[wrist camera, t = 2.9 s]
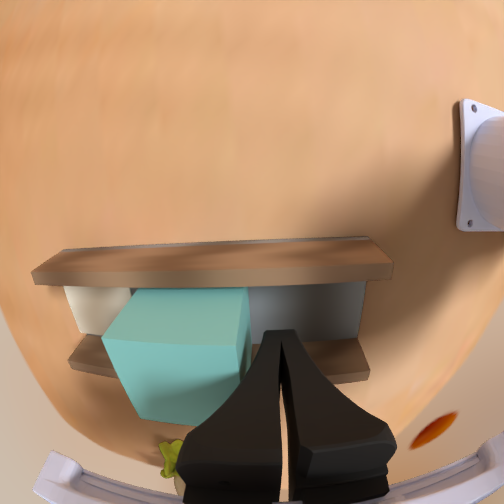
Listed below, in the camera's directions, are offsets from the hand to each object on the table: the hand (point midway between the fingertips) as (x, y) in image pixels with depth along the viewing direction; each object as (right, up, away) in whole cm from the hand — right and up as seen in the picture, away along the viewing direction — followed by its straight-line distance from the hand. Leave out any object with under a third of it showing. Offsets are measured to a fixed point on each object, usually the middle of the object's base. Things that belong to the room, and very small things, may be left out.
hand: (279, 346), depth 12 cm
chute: (-4, +1, +4) cm, 6 cm away
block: (-4, +1, +3) cm, 5 cm away
